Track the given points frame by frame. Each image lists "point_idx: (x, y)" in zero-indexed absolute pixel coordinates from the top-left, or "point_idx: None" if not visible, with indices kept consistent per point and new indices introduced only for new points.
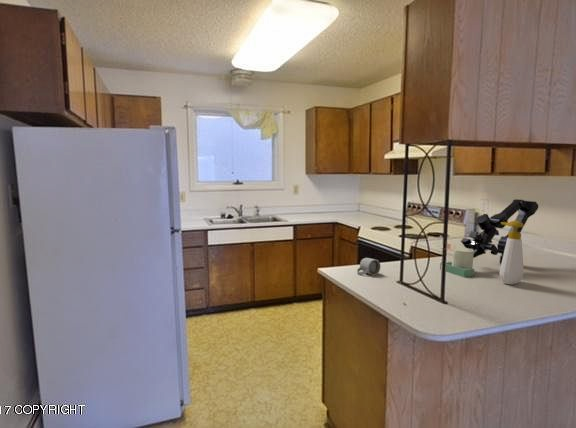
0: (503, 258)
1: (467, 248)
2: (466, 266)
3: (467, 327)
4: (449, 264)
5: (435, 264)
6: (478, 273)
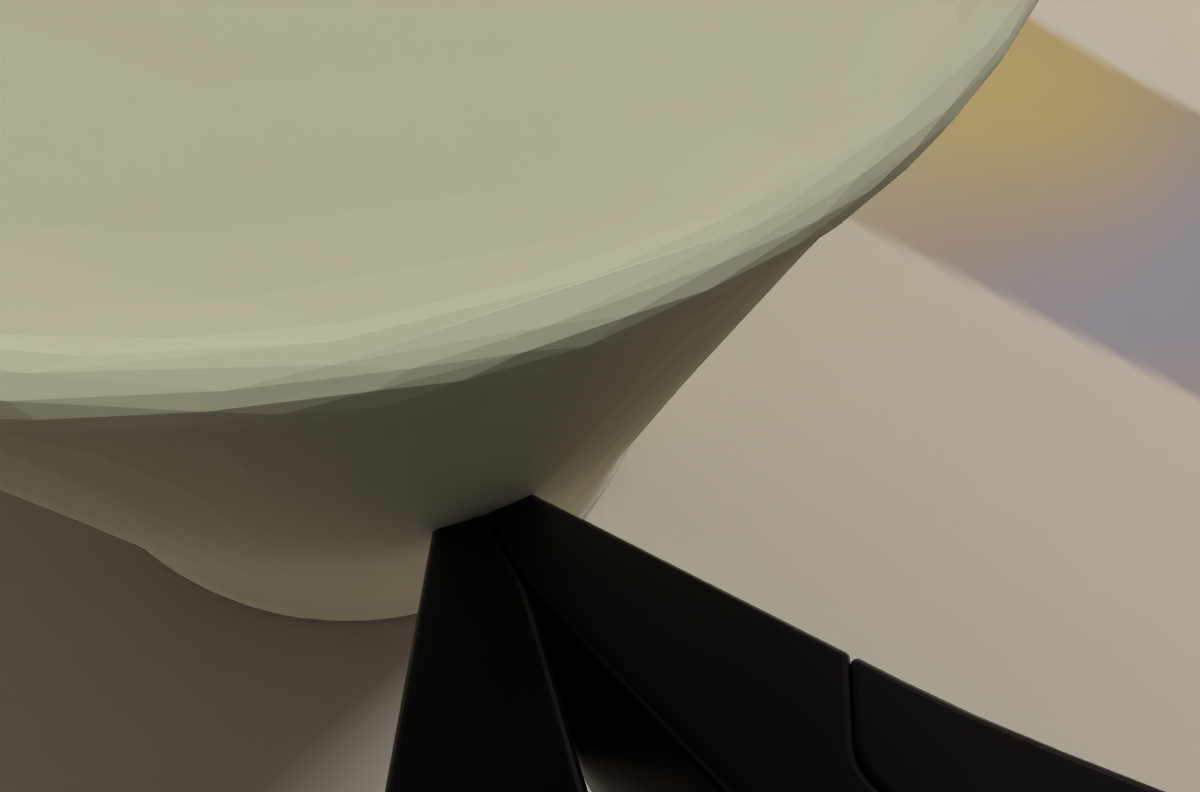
0: None
1: (842, 133)
2: None
3: None
4: None
5: (1076, 5)
6: (107, 774)
